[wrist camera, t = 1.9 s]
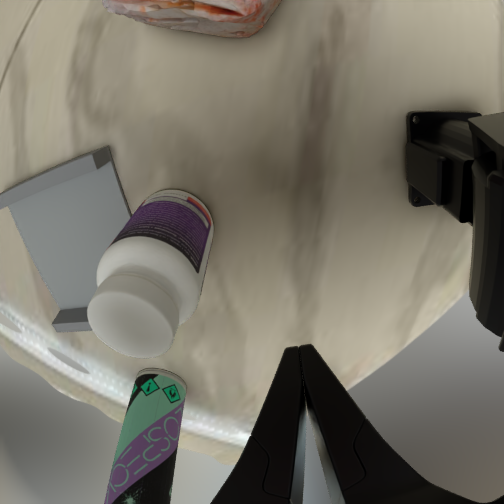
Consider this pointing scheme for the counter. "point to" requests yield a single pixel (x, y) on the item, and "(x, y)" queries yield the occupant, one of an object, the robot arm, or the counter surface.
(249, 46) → the counter surface
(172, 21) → the food item
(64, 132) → the counter surface
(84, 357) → the counter surface
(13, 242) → the counter surface
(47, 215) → the tray
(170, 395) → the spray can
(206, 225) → the pill bottle
